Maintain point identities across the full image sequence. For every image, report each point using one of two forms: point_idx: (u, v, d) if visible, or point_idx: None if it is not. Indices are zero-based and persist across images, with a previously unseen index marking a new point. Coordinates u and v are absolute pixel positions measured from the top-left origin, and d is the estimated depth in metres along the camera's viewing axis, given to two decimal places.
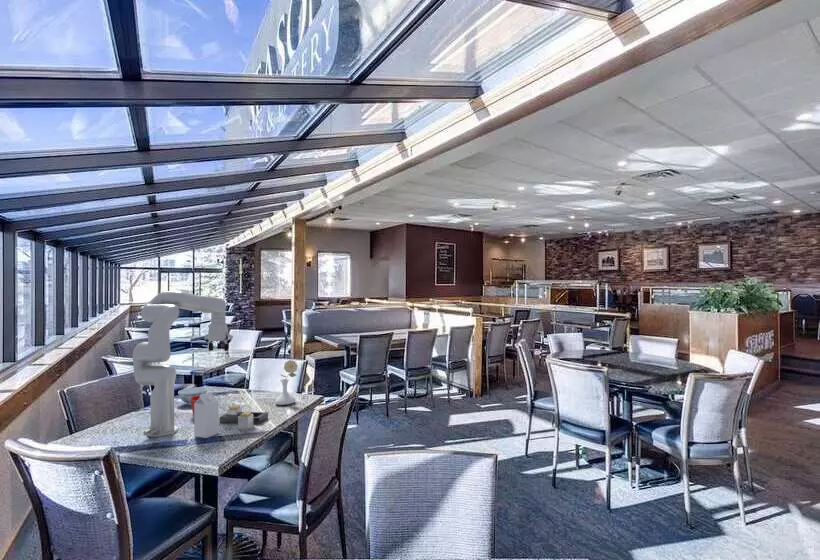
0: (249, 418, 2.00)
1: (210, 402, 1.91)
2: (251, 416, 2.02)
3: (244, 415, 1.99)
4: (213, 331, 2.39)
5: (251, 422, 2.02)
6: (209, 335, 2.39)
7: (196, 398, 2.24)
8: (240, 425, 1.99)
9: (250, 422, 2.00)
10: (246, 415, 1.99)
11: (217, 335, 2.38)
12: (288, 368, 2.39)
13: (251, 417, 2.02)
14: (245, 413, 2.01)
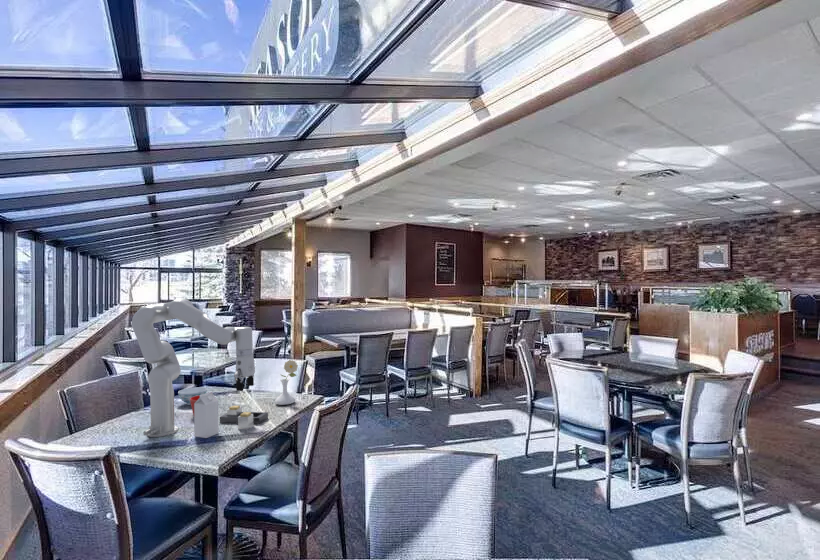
0: (249, 418, 2.00)
1: (210, 402, 1.91)
2: (251, 416, 2.02)
3: (244, 415, 1.99)
4: (248, 365, 2.01)
5: (251, 422, 2.02)
6: (245, 371, 1.98)
7: (196, 398, 2.24)
8: (240, 425, 1.99)
9: (250, 422, 2.00)
10: (246, 415, 1.99)
11: (251, 368, 2.03)
12: (288, 368, 2.39)
13: (251, 417, 2.02)
14: (245, 413, 2.01)
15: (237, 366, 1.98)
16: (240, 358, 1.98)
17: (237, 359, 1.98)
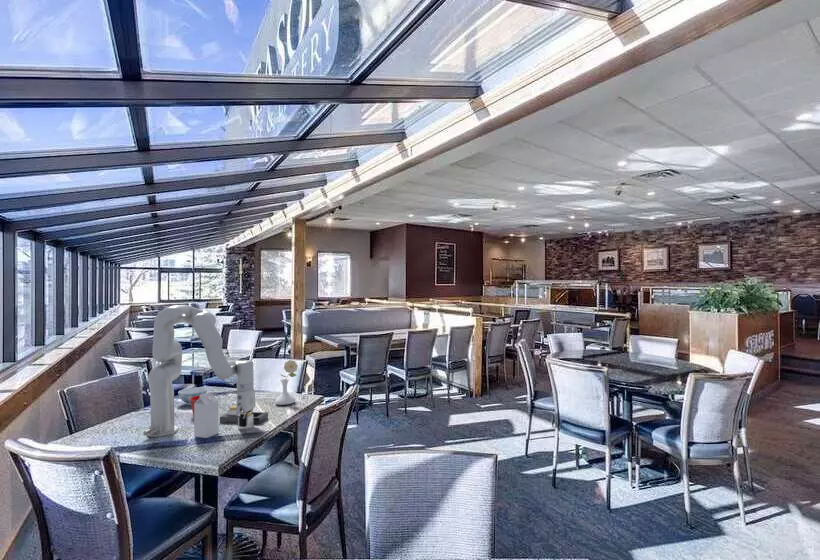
0: (249, 418, 2.00)
1: (210, 402, 1.91)
2: (251, 416, 2.02)
3: None
4: (249, 399, 2.00)
5: (251, 422, 2.02)
6: (246, 405, 1.97)
7: (196, 398, 2.24)
8: None
9: (250, 422, 2.00)
10: (246, 415, 1.99)
11: (252, 402, 2.02)
12: (288, 368, 2.39)
13: (251, 417, 2.02)
14: None
15: (238, 401, 1.97)
16: (241, 393, 1.97)
17: (238, 394, 1.97)
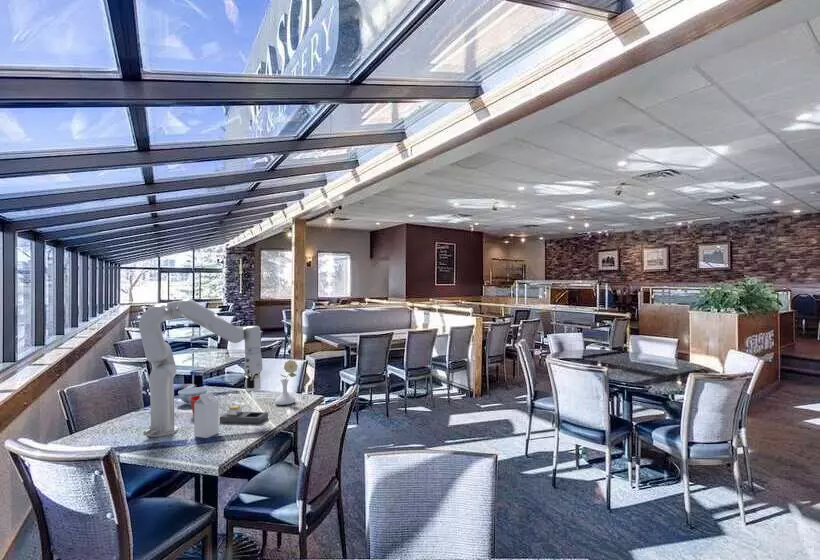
0: (256, 380, 2.10)
1: (210, 402, 1.91)
2: (258, 379, 2.12)
3: None
4: (256, 362, 2.10)
5: (258, 384, 2.11)
6: (253, 368, 2.07)
7: (196, 398, 2.24)
8: None
9: (257, 384, 2.10)
10: (254, 377, 2.09)
11: (259, 366, 2.12)
12: (288, 368, 2.39)
13: (258, 380, 2.12)
14: (253, 376, 2.11)
15: (246, 363, 2.07)
16: (248, 356, 2.07)
17: (246, 357, 2.07)
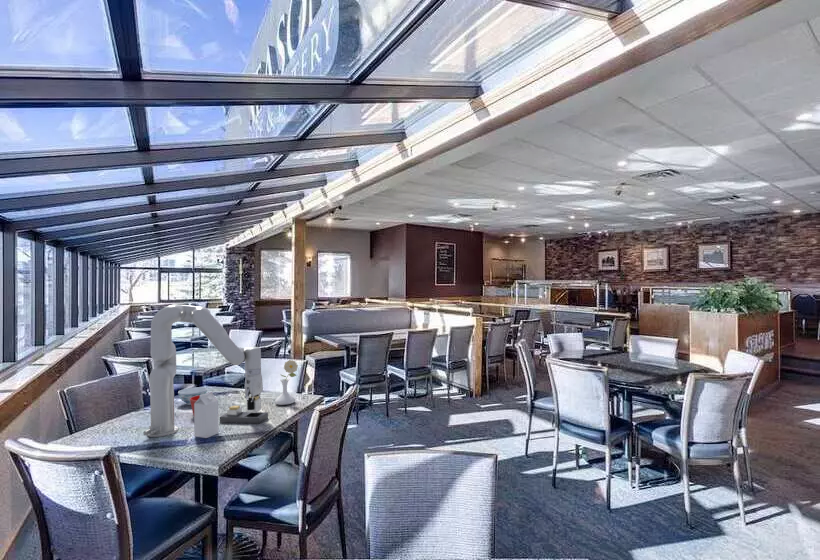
0: (257, 402, 2.10)
1: (210, 402, 1.91)
2: (259, 400, 2.12)
3: None
4: (257, 383, 2.10)
5: (259, 405, 2.12)
6: (254, 389, 2.07)
7: (196, 398, 2.24)
8: None
9: (258, 405, 2.11)
10: (254, 399, 2.10)
11: (259, 387, 2.12)
12: (288, 368, 2.39)
13: (259, 401, 2.12)
14: None
15: (246, 385, 2.07)
16: (249, 377, 2.07)
17: (246, 378, 2.07)
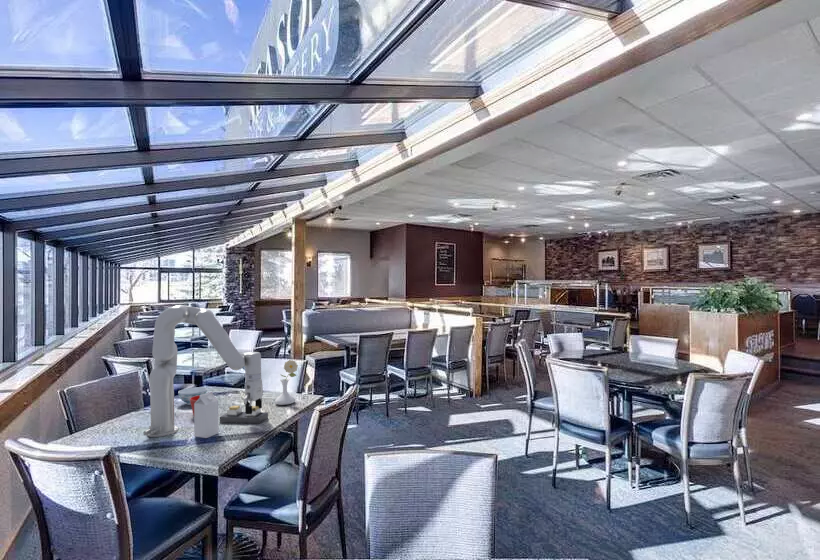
0: (257, 412, 2.10)
1: (210, 402, 1.91)
2: (259, 410, 2.12)
3: (252, 409, 2.09)
4: (257, 389, 2.10)
5: None
6: (254, 394, 2.07)
7: (196, 398, 2.24)
8: None
9: (257, 415, 2.11)
10: (254, 409, 2.09)
11: (259, 392, 2.12)
12: (288, 368, 2.39)
13: (259, 411, 2.12)
14: (253, 407, 2.11)
15: (246, 390, 2.07)
16: (249, 382, 2.07)
17: (246, 383, 2.07)
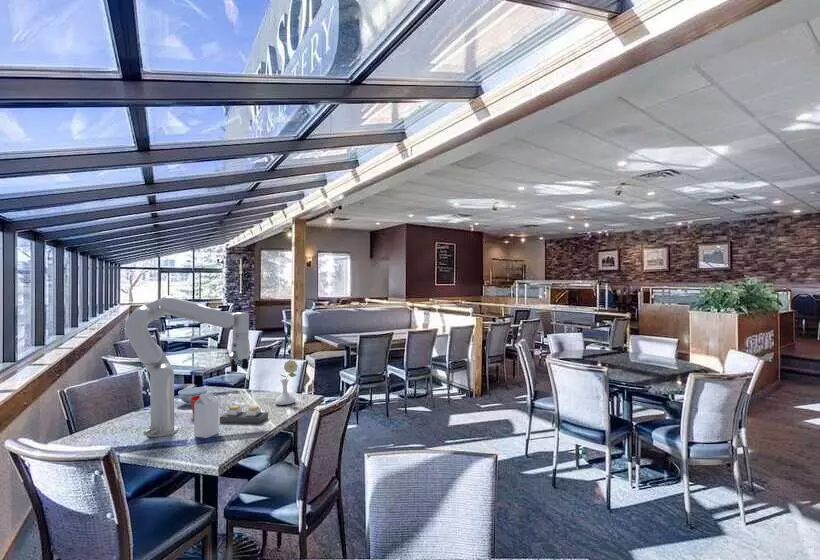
0: (257, 412, 2.10)
1: (210, 402, 1.91)
2: (259, 410, 2.12)
3: (252, 409, 2.09)
4: (243, 348, 2.13)
5: None
6: (240, 353, 2.10)
7: (196, 398, 2.24)
8: None
9: (257, 415, 2.11)
10: (254, 409, 2.09)
11: (246, 352, 2.15)
12: (288, 368, 2.39)
13: (259, 411, 2.12)
14: (253, 407, 2.11)
15: (233, 348, 2.10)
16: (236, 341, 2.10)
17: (233, 342, 2.11)
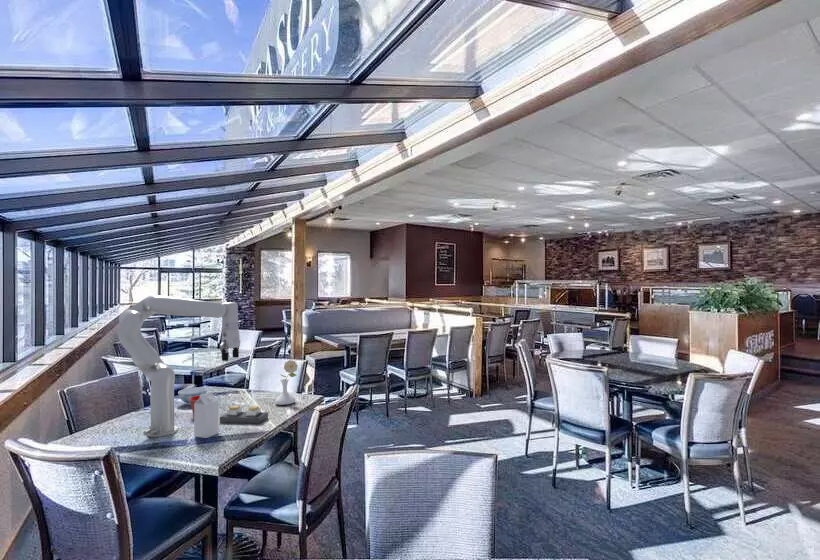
0: (257, 412, 2.10)
1: (210, 402, 1.91)
2: (259, 410, 2.12)
3: (252, 409, 2.09)
4: (233, 337, 2.16)
5: None
6: (230, 342, 2.14)
7: (196, 398, 2.24)
8: None
9: (257, 415, 2.11)
10: (254, 409, 2.09)
11: (236, 341, 2.18)
12: (288, 368, 2.39)
13: (259, 411, 2.12)
14: (253, 407, 2.11)
15: (223, 338, 2.13)
16: (226, 330, 2.13)
17: (223, 331, 2.14)
